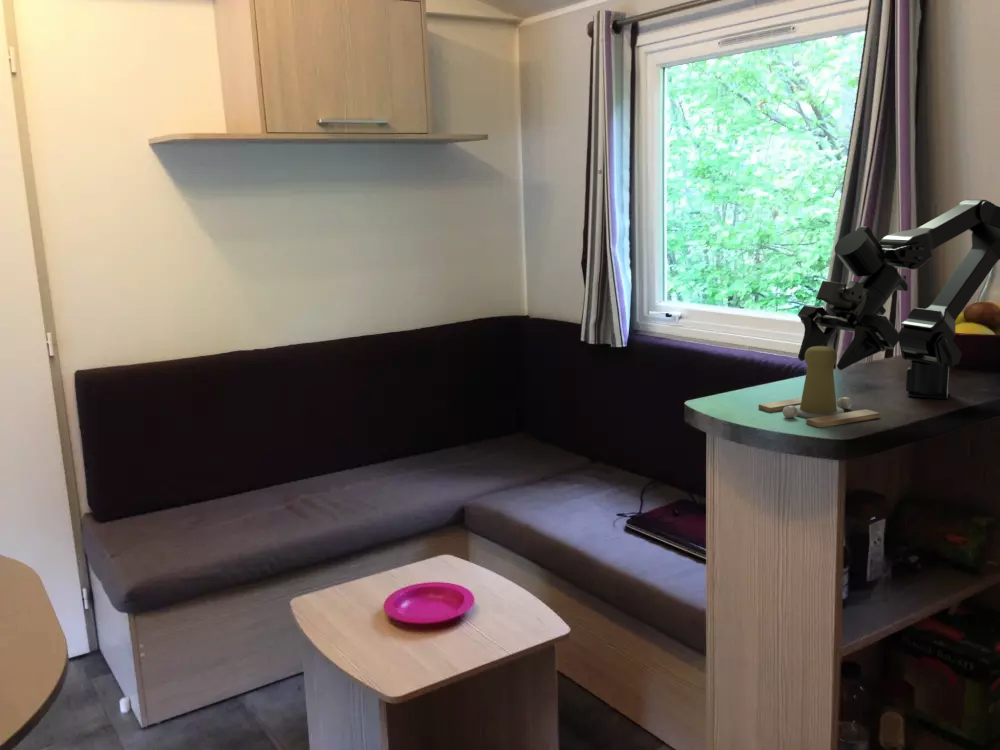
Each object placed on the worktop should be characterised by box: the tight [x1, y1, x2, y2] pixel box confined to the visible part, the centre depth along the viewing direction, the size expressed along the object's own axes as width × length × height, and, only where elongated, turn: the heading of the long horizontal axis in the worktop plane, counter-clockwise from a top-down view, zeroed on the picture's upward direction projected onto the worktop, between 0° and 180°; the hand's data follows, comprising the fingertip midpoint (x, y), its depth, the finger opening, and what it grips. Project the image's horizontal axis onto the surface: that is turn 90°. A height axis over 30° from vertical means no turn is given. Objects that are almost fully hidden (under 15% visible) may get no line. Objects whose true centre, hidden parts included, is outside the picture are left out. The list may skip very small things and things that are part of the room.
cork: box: [800, 345, 838, 414], centre depth 155 cm, size 6×6×11 cm
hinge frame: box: [758, 396, 880, 429], centre depth 156 cm, size 13×15×2 cm
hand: (818, 363), depth 154 cm, fingers open, 9 cm apart
